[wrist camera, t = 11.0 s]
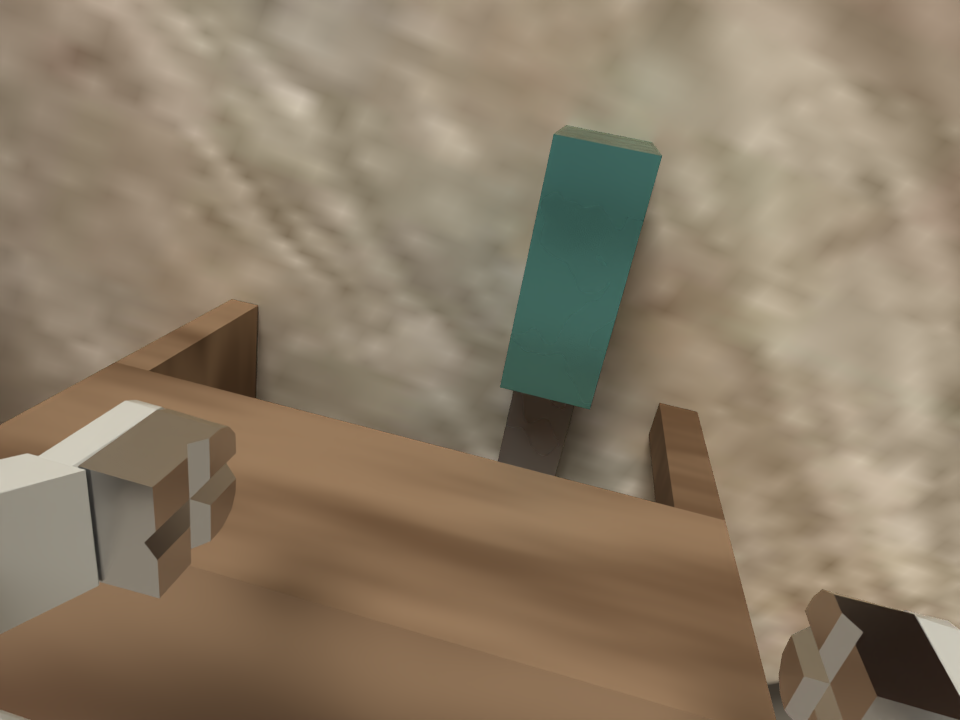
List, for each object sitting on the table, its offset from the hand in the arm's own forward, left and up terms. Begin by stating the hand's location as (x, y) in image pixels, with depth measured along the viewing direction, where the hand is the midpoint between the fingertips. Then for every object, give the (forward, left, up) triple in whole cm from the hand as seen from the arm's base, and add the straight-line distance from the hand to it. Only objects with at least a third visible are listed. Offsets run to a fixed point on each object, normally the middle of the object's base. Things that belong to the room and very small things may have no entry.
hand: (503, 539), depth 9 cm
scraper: (+6, 0, -17) cm, 17 cm away
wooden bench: (+10, -4, -17) cm, 20 cm away
